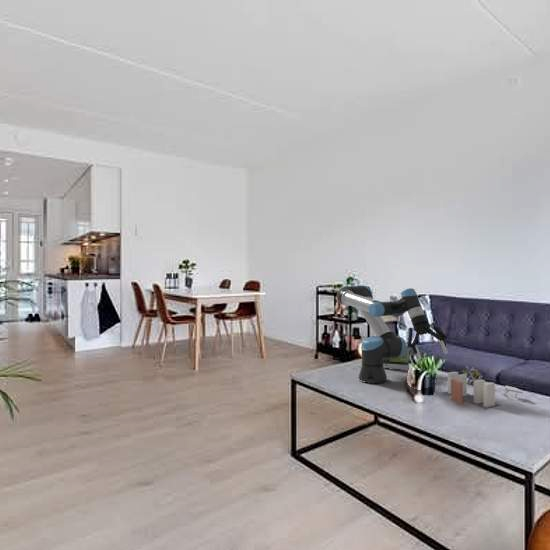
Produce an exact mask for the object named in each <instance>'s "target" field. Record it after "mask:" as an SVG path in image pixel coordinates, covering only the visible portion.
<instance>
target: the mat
mask: <svg viewBox="0 0 550 550" xmlns="http://www.w3.org/2000/svg"><path fill="white" fill-rule="evenodd" d="M441 393H442V394H444V395H446V396H450V397H451V394H450V393H448V390H447V391H443V392H441ZM463 402H466V403H468V404H471V405H474V406H476V407H479V408H480V409H484V410H488V409H489V410H490V409H494V408H498V407H502V405H501V404H499V403H496V402H495V405H494V406H490V407H485V406H483V402H482V403H478V404H477V403H474V394H470V393H467V395H466V396H463Z"/></svg>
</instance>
